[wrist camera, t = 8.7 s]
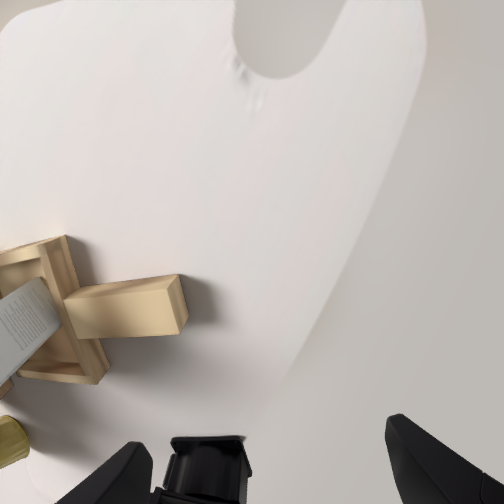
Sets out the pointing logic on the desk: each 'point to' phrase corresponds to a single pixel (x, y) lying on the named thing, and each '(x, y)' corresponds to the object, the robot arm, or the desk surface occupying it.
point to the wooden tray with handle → (88, 311)
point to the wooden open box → (5, 387)
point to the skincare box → (25, 324)
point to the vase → (12, 442)
